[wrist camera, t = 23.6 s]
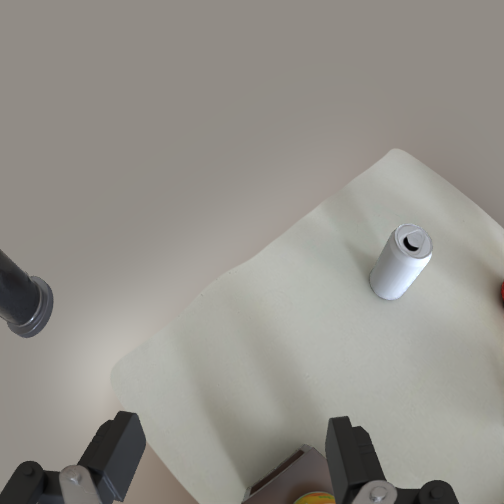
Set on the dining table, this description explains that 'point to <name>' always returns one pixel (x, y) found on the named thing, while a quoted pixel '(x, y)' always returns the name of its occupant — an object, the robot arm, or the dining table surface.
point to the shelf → (292, 479)
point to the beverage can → (401, 261)
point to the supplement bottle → (316, 498)
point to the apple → (503, 290)
